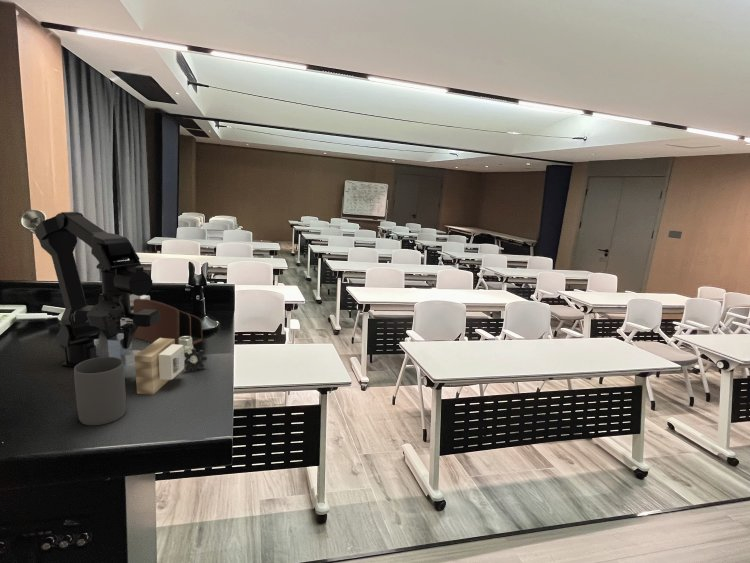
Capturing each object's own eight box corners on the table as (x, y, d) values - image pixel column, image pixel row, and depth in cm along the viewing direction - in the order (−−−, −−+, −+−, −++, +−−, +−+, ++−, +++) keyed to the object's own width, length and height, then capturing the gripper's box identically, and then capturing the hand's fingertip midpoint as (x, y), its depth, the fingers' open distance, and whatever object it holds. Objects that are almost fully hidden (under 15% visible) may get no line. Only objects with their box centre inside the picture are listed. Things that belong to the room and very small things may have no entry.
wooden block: (137, 393, 105) (134, 355, 103) (161, 372, 117) (159, 337, 115) (153, 394, 105) (151, 356, 103) (176, 373, 117) (174, 338, 115)
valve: (172, 358, 127) (182, 374, 117) (171, 337, 125) (181, 351, 116) (195, 354, 130) (207, 369, 121) (195, 333, 129) (206, 347, 120)
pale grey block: (110, 373, 108) (107, 340, 106) (121, 365, 113) (119, 333, 111) (177, 378, 108) (176, 344, 106) (186, 369, 113) (185, 337, 111)
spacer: (159, 378, 107) (158, 354, 106) (172, 367, 114) (171, 344, 113) (171, 379, 107) (170, 355, 106) (184, 368, 114) (183, 344, 113)
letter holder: (178, 351, 132) (176, 307, 129) (133, 338, 140) (130, 296, 137) (203, 341, 141) (202, 300, 138) (160, 329, 149) (158, 290, 145)
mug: (133, 416, 96) (129, 366, 93) (85, 431, 89) (80, 378, 87) (112, 393, 105) (108, 347, 102) (67, 405, 98) (62, 356, 95)
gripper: (53, 294, 98) (60, 358, 101) (135, 299, 98) (139, 363, 101) (86, 283, 109) (91, 341, 112) (160, 288, 109) (162, 346, 112)
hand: (120, 348), depth 109 cm, fingers closed on pale grey block, 3 cm apart
